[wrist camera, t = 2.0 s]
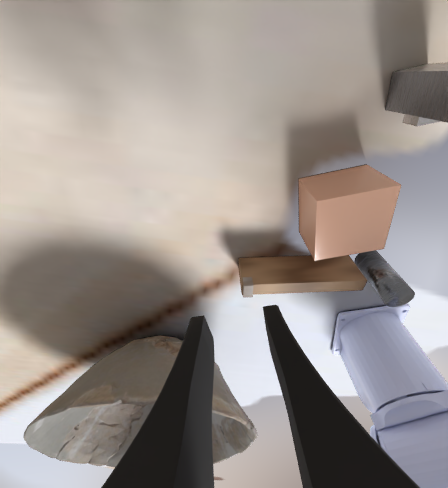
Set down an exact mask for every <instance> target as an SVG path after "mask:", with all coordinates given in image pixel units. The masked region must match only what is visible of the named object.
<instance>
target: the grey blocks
mask: <svg viewBox="0 0 448 488" xmlns="http://www.w3.org/2000/svg"><path fill="white" fill-rule="evenodd" d="M385 110H388V111H393V112H398V113H403V114H405V115H404V119H403V123H406V124H410V125H414V126H421V125H425V124H430V123H435V122H440V121H443V122H448V63H433V64H425V65H421V66H416V67H412V68H408V69H403V70H399V71H395V72H393V73H392V78H391V83H390V88H389V93H388V98H387V103H386V108H385ZM355 264H356V265H357V267H358V268H359V269H360V271H361V272H362V273H363V275H364V276H365V277H366V279H367V280H368V281H369V283H370V284H371V285H372V287H373V288H374V289H375V291H376V292H377V293H378V295H379V296H380V297H381V299H382V300H383V301H384V303H385V304H386V305H387V306H389V307H398V306H402V305H404V304H406V303H408V302H409V301H411V300H412V299H413V297H414V295H415V293H414V291H413V290H412V289H411V288H410V287H409V286H408V284H407V283H406V282H405V281H404V280H403V279H402V278H401V277H400V276H399V275H398V274H397V273H396V271H395V270H394V269H393V268H392V267H391V266H390V265H389V264H388V263H387V262H386V261H385V260H384V258H383V257H382V256H381V255H380V254H379V253H378V252H377V251H376V250H374V251H368V252H362V253H359V254H358V255H357V256H356V258H355Z"/></svg>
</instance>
